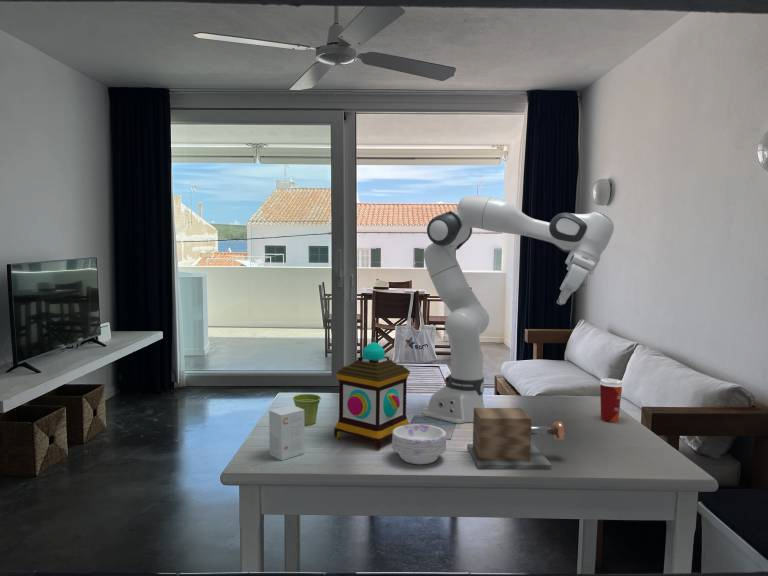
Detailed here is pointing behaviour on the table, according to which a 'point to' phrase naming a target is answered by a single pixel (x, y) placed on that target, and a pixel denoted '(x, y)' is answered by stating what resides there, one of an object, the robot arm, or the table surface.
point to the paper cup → (610, 399)
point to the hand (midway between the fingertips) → (560, 303)
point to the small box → (286, 432)
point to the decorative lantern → (372, 396)
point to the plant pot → (308, 406)
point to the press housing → (504, 440)
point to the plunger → (550, 430)
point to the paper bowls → (419, 443)
